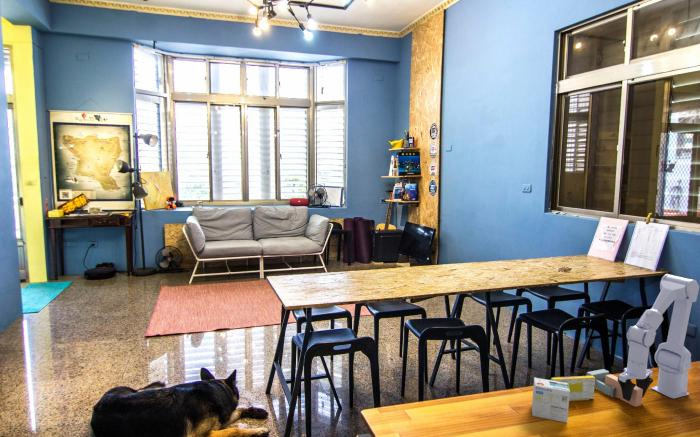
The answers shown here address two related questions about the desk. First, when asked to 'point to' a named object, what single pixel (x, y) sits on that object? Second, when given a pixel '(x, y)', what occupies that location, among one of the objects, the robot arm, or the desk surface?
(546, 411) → the light bulb box
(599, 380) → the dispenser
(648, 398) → the desk surface
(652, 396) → the desk surface
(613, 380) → the salmon pink block
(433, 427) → the desk surface
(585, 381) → the candy box
